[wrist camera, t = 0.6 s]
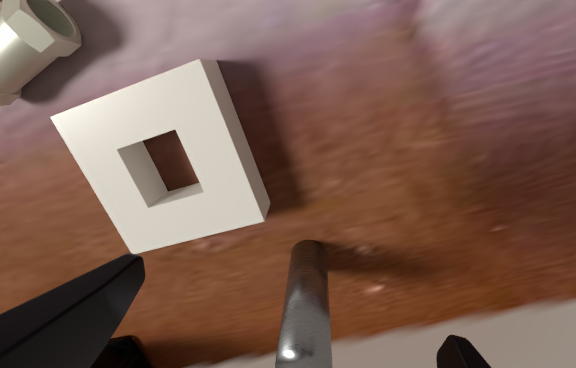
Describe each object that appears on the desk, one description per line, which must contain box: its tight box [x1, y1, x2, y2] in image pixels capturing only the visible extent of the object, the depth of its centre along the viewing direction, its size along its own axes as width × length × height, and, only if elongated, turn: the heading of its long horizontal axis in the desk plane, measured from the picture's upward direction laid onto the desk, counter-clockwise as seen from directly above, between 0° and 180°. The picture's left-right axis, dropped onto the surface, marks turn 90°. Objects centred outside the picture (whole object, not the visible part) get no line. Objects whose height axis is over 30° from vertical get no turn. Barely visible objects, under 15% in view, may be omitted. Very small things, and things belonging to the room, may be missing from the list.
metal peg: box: [275, 240, 332, 368], centre depth 20 cm, size 3×3×10 cm
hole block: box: [50, 59, 271, 254], centre depth 21 cm, size 11×11×3 cm
